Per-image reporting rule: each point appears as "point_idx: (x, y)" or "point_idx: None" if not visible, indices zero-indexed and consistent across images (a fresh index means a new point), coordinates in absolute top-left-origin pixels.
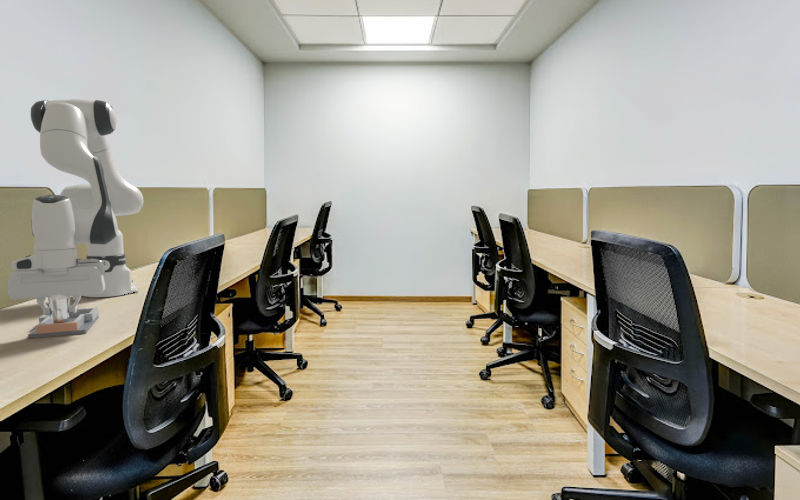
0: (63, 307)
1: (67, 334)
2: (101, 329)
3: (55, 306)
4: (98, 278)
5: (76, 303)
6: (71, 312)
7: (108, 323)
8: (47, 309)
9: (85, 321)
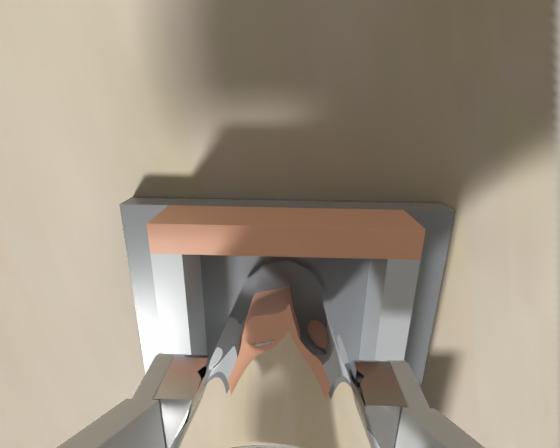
0: (223, 365)
1: (231, 200)
2: (72, 265)
3: (298, 369)
4: None
5: (95, 422)
6: (186, 354)
7: (84, 384)
8: (383, 395)
9: None
